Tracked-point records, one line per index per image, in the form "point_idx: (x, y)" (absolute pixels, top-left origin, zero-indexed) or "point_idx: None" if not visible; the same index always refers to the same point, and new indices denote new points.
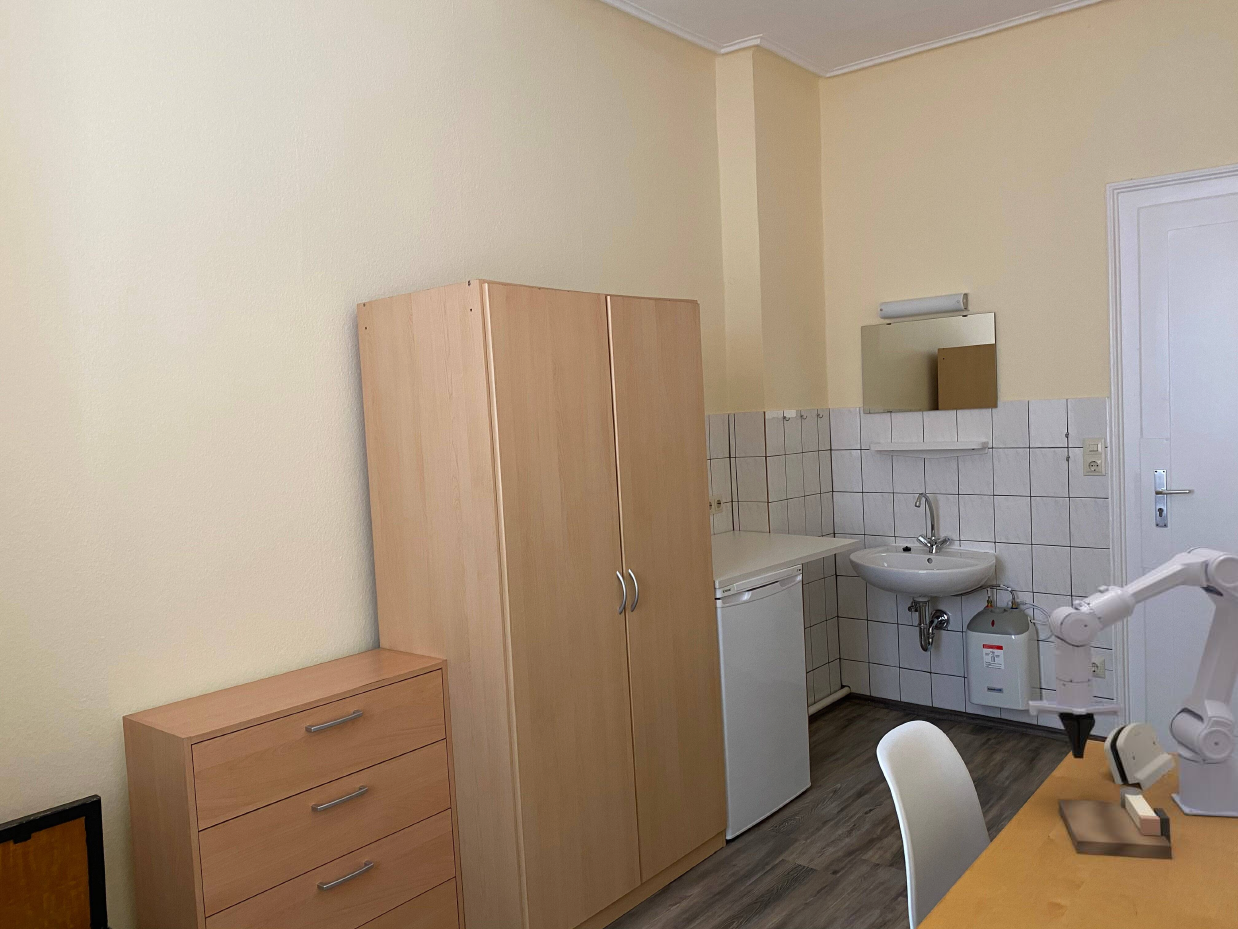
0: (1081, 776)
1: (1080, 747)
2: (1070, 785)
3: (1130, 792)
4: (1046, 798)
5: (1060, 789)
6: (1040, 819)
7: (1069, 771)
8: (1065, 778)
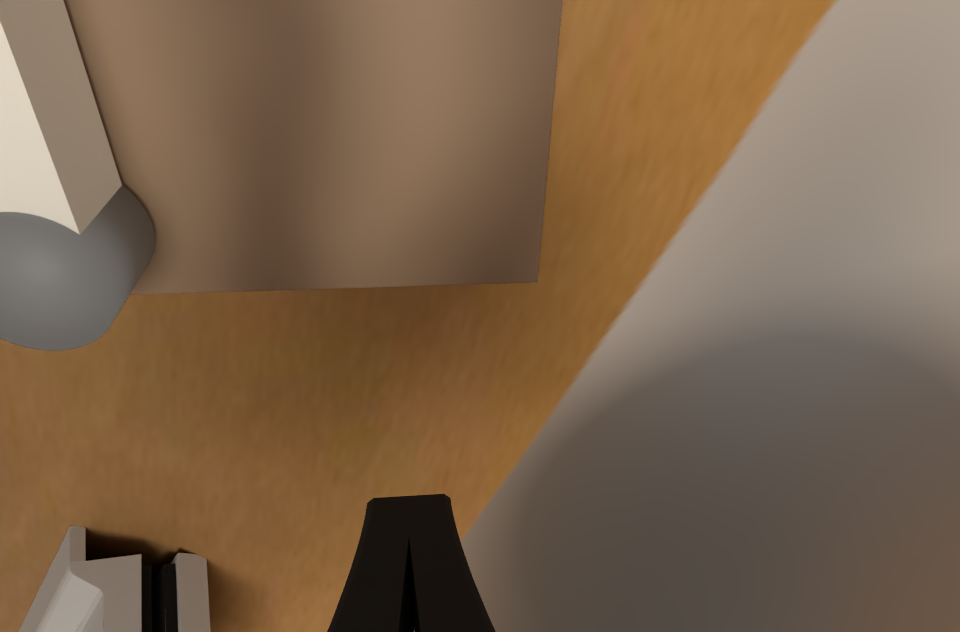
0: None
1: (390, 594)
2: None
3: (32, 251)
4: (547, 382)
5: (457, 478)
6: (666, 107)
7: None
8: None
